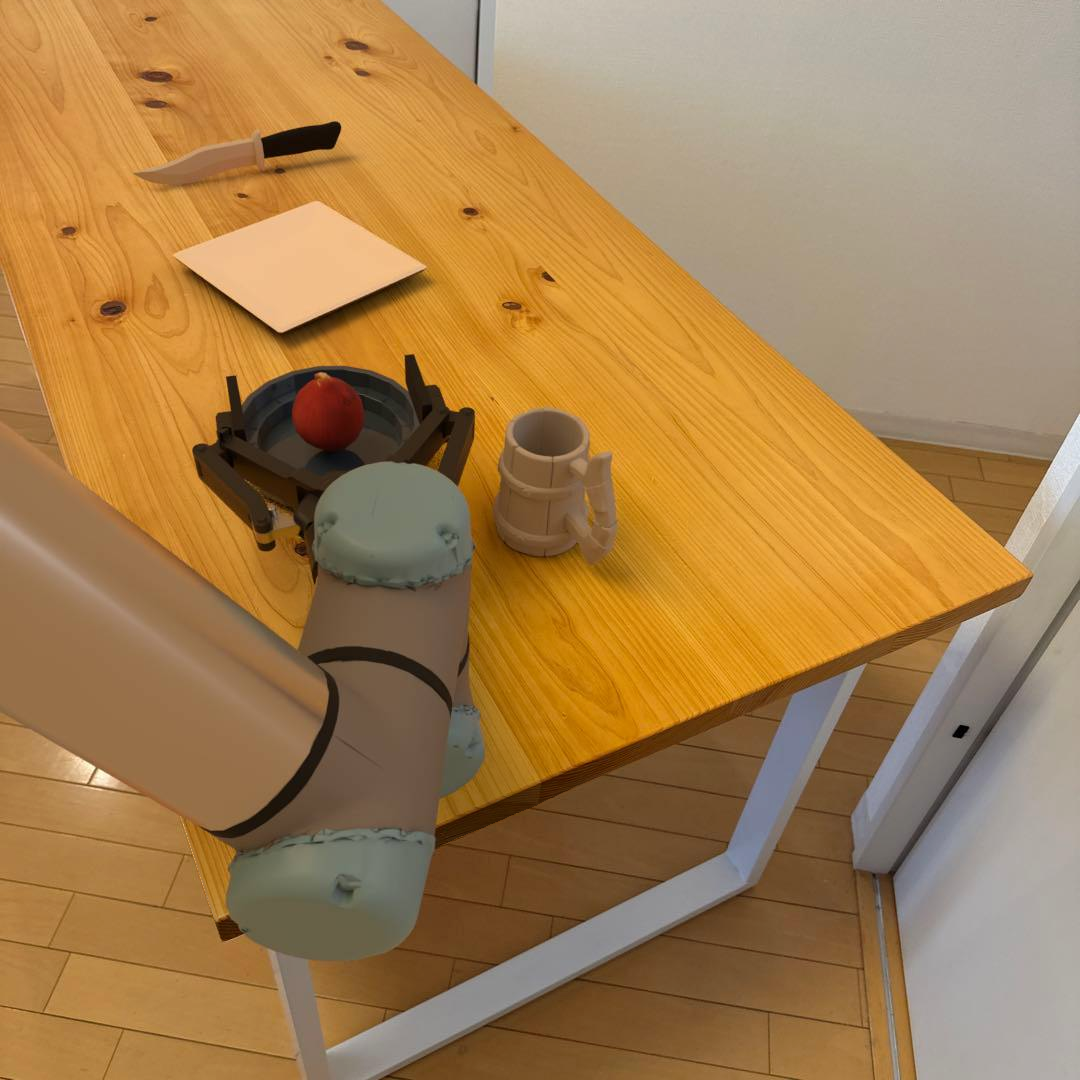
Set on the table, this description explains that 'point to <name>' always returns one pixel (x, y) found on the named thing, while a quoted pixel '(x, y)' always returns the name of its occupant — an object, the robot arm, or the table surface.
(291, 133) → the knife
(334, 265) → the plate
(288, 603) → the table surface
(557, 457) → the mug
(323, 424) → the onion
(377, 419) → the bowl
